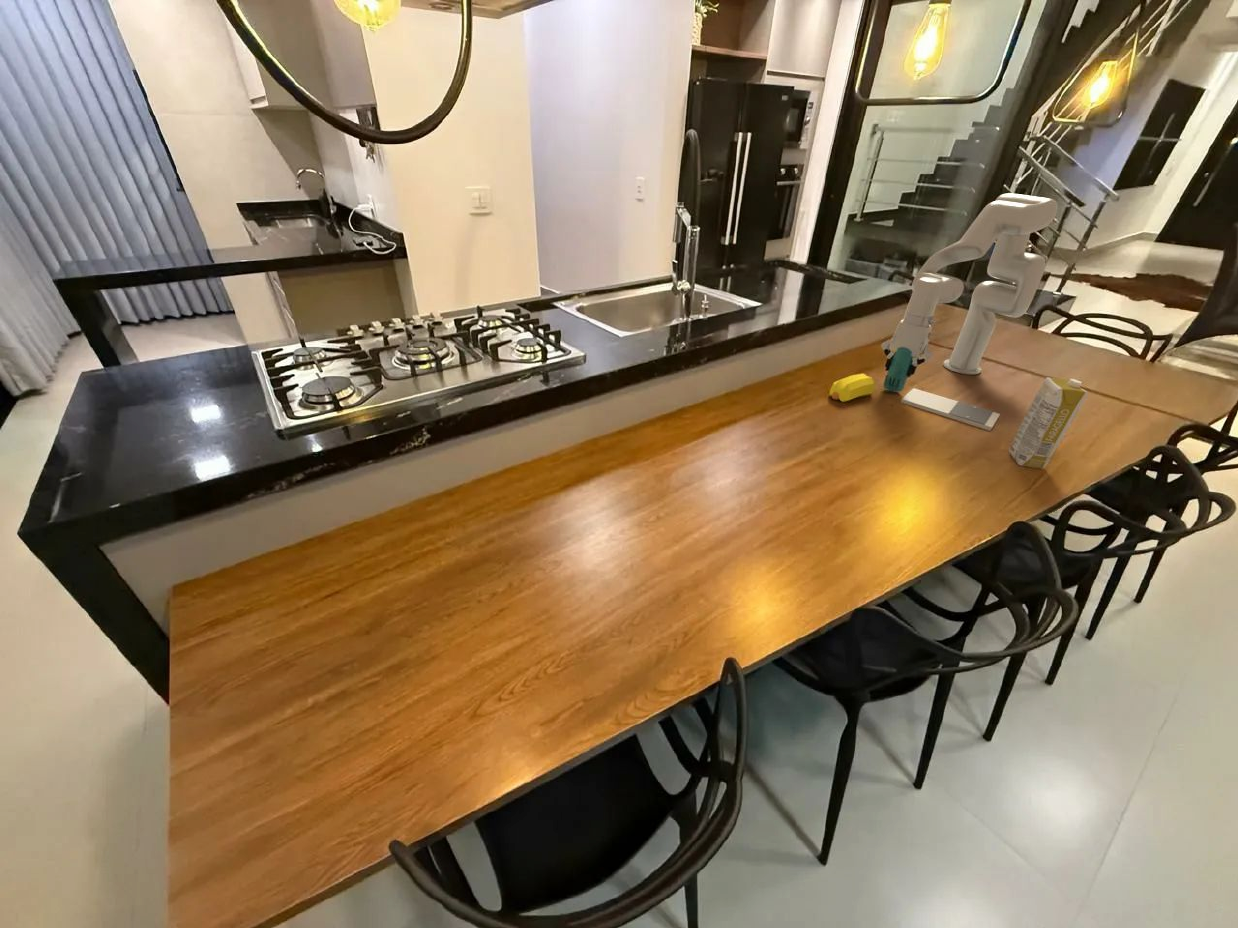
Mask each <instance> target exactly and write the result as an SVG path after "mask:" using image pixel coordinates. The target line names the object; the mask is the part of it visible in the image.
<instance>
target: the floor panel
mask: <svg viewBox="0 0 1238 928" xmlns="http://www.w3.org/2000/svg"><path fill="white" fill-rule="evenodd" d="M900 403H902V404H905V405H908V406H911V407H914V408H917V409H920V410H923V411H927V412H930V413H934V414H936V415H938V416H943V417H946V418H948V419H953V420H955V421H958V422H962V423H964V424H968V425H971V426H974V427H977V428H981V429H984V430H986V431H991V430H992V429H993V427H994V426H995V424H996V423H997V421H998V419H999V418H1000V415H1001V414H1000V413H998V412H994V410H990V409H986V408H982V407H980V406H976V405H973V404H970V403H966V402H963V401H959V400H954V399H951V398H948V397H944V396H941V395H938V394H935V393H931V392H928V391H924V390H921V389H918V388H916V387H914V388H912V389H911V390H910V391H909V392H908V393H906V395H904V397H902V399H901V401H900Z"/></svg>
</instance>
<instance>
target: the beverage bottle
mask: <svg viewBox="0 0 1238 928" xmlns="http://www.w3.org/2000/svg"><path fill="white" fill-rule="evenodd" d="M911 354H912V352H911V350H909V349H908V348H905V347H900V348H897V351H896V352H895V353H894V355H893V358H892V361H891V364H890V366H889V369H888V371H887V373H886V375H885V378H884V381H883V388H884V389H886V390H887V391H891V392H897V393H898V392H902V391H903V390H904V388H905V385H906V381H907V379H908V378H909V377H908V376H907V375H908V372H909V369H910V366H911V365H912V364H913V358H912V356H911Z"/></svg>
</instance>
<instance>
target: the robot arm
mask: <svg viewBox="0 0 1238 928" xmlns="http://www.w3.org/2000/svg"><path fill="white" fill-rule="evenodd" d="M1058 210H1059V204H1058V201H1056V200H1055V199H1054V198H1048V197H1042V196H1035V195H1028V194H1019V193H1003V194H1000V195H999V196H997V198H996V199H995V201H992V202H988V204H986V205H985V207H983V208H982V210H981V211H980V213H978V215H977V216H976V218H975V219H974V220H973V222H972V223H971V225H970V226H969V227H968V229H967V230H966V231H965V233H964V234H963V235H962V237H961V238H960V239H959V240H958V241H956V242H954V243H952V244H950V245H948V246H946V247H944V248H943V249H941V250H939V251H937V252H936V253H934V254H933V255H931V256H930V257H929V258H928V259H927V260H926V261H925V262H924V264H923V265H922V266H921V268H920V269H919V270H918V272H917V273H916V275H915V277H914V279H913V281H912V284H911V290H912V293H911V296H910V299H909V301H908V305H907V307H906V310H905V313H904V316H903V319H901V320H900V322H899V323H898V325H897V327H896V329H895V331H894V333H893V335H892V338H891V339H888V340H886V341H884V342H883V343H881V344H880V347H881V348H882V350H883V352H884V354H885V356H886V362H885V365H884V367H885V371H886V372H888V369H889V366H890V364H891V361H892V358H893V355H894V353H895V352H896V351H897V348H900V347H905V348H908V349H909V350H911V352H912V354H911V356H912V358H913V363H912V365H911V366H910V369H909V372H908V375H907V376H908V377H907V378H910V377H911V376H912V375H913V376H914V375H915V372H916V370H917V367H918V366H919V365H921V364H923V363H926V362H927V361H930V360H932V358H933V355H932V353H931V352H930V350H929V348H928V346H929V345H928V344H929V341H930V338H931V333H932V332H931V331H932V325H935V324H936V323H937V319H935V318H934V312H935V311H936V310H935V309H936V307H937V304H938V303H940V304H941V303H942V304H949V303H952V302H955V301H956V300H958V299H959V298H960V297H961V296H962V294H963V292H964V289H965V285H964V283H963V281H962V280H961V279H959V278H958V277H954V276H951V275H950V276H949V275H947V274H943V273H938V271H939V270H941V269H942V268H944V267H947V266H948V265H952V264H956V263H957V264H958V263H962V262H968V261H973V260H977V259H981V258H982V257H984V256H985V255H986V254H987V252H988V251H989V249H991V248H992V246H993V245H994V243H995V245H994V248H993V251H992V253H991V256H990V259H989V260H988V261H989V262H988V265H987V267H986V268H987V269H986V270H987V272H986V273H987V275H988V276H990V277H991V278H994V279H997V280H1001V281H1006V282H1010V283H1013V284H1016V285H1012V284H1007V283H1004V282H999V281H993V280H984V281H982V282H980V283H979V284H977V286H976V287H974V290H973V293H972V296H971V299H970V305H969V308H968V312H967V315H966V318H965V320H964V322H963V325H962V327H961V330H960V333H959V336H958V338H957V340H956V342H955V345H954V348H953V350H952V353H951V354H950V358H948V359H945V360H944V361H943V362H942V365H943V367H944V368H945V369H947V370H950V371H952V372H954V373H958V374H963V375H968V376H969V375H971V376H972V375H973V376H974V375H979V374H981V371H982V368H981V367H980V366H979V364H980V362H981V361H982V358H983V355H984V353H985V350H986V349H987V346H988V344H989V342H990V339H991V336H992V334H993V333H994V330H995V327H996V323H997V319H996V315H995V314H998V315H1001V316H1004V317H1008V318H1009V317H1010V318H1015V319H1016V318H1020V317H1022V316H1023V315H1025V313H1026V312H1027V311H1028V310H1029V308H1030V306H1031V304H1032V301H1033V300H1034V297H1035V295H1036V292H1037V290H1038V287H1039V286H1040V283H1041V280H1042V278H1043V276H1044V273H1045V269H1046V260H1045V258H1044V257H1043V256H1042V255H1039V254H1037V253H1031V252H1026V247H1027V246H1028V245H1027V244H1028V242H1029V239H1030V237H1031V234H1032V233H1035V232H1037V231H1038V232H1039V231H1040V230H1043V229H1045V228H1046V227H1047V226H1049V225H1050V224H1051V223H1052V222H1053V221H1054V219H1055V217H1056V215H1057V214H1058ZM888 346H889V347H888ZM922 355H925V357H922V358H921V356H922Z"/></svg>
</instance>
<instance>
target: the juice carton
mask: <svg viewBox="0 0 1238 928" xmlns="http://www.w3.org/2000/svg"><path fill="white" fill-rule="evenodd" d="M1081 385H1082V381H1080V380H1078V379H1074V378H1070V379H1068V378H1061V377H1060V378H1059V377H1050V376H1049V377H1046V378H1045V379H1044V381H1043V382H1042V384H1041V386H1040V387H1039V389H1038V391H1037V393H1036V395H1035V396H1034V399H1033V400H1032V403H1030V404H1031V405H1030V406H1029V408H1028V410H1027V412H1026V413H1025V416H1024V418H1023V420H1022V421H1021V424H1020V426H1019V428H1018V430H1017V432H1015V433H1016V434H1015V436H1014V438H1013V439H1012V441H1011V443H1010V446H1009V448H1008V452H1009V454H1010V456H1012V457H1013V459H1014V460H1015V462H1016V463H1017V465H1019V466H1021V467H1025V468H1026V467H1028V468H1033V469H1045V468H1046V467H1047V466H1048V463H1049V462H1050V461H1051V460H1052V458H1053V456H1054V454H1055V453H1056V450H1058V448H1059V446H1060V443H1062V440H1063V439H1064V437H1065V435H1066V433H1067V432H1068V431H1069V428H1070V427H1071V425H1072V422H1073V421H1074V419H1075V417H1076V416H1077V415H1078V413H1079V411H1080V409H1081V407H1082V405H1083V403H1084V402H1085V400H1086V398H1087V395H1088V394H1089V393H1088V391H1087V390H1085V389H1083V388H1081V387H1080V386H1081Z"/></svg>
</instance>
